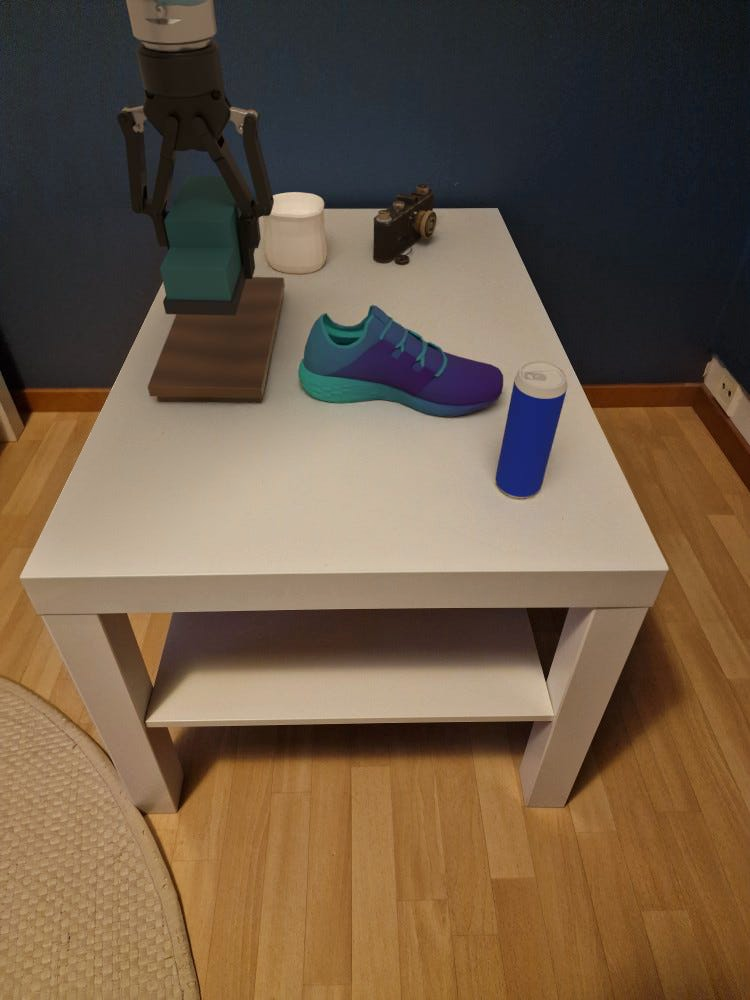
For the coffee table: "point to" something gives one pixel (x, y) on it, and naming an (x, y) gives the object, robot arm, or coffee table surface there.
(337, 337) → the sneaker
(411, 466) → the coffee table surface
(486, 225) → the coffee table surface
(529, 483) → the beverage can
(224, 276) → the teal stepped block
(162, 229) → the robot arm
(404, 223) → the camera
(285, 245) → the cup
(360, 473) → the coffee table surface
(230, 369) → the brown wooden board
